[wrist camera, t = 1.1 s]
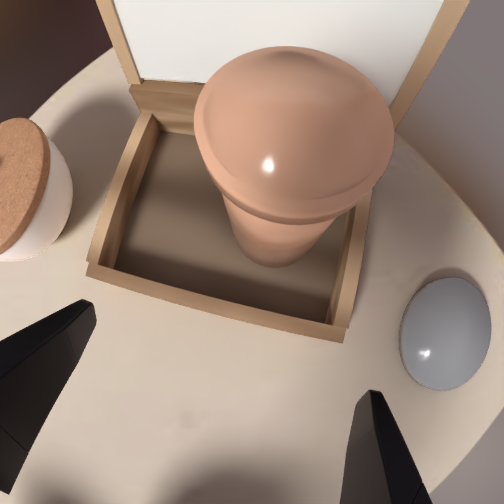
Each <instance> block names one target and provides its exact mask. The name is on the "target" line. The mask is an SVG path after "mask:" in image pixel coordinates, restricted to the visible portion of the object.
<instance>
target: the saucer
mask: <svg viewBox="0 0 504 504" xmlns="http://www.w3.org/2000/svg"><path fill="white" fill-rule="evenodd" d="M490 339H491V317H490V312H489V308H488V305H487V303H486V301H485V299H484V297H483V295H482V294H481V292H480V291H479V290H478V289H477V288H476V287H475V286H474V285H473V284H472V283H470V282H468V281H466V280H464V279H461V278H456V277H449V278H443V279H439V280H435V281H432V282H430V283H429V284H427V285H425V286H424V287H422V288H421V289H420V290H419V291H418V292H417V293H416V294H415V295H414V297H413V298H412V299H411V301H410V302H409V304H408V306H407V308H406V310H405V312H404V315H403V317H402V321H401V325H400V330H399V350H400V356H401V359H402V363H403V365H404V367H405V369H406V371H407V372H408V374H409V375H410V376H411V377H412V378H413V379H414V380H415V381H416V382H417V383H419V384H421V385H422V386H425V387H427V388H430V389H433V390H438V391H446V390H451V389H454V388H457V387H459V386H461V385H463V384H464V383H465V382H467V381H468V380H469V379H470V378H471V377H472V376H473V375H474V374H475V373H476V372H477V370H478V369H479V368H480V366H481V364H482V363H483V361H484V359H485V356H486V354H487V351H488V348H489V344H490Z"/></svg>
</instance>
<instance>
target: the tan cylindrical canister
mask: <svg viewBox="0 0 504 504" xmlns="http://www.w3.org/2000/svg"><path fill="white" fill-rule="evenodd" d="M194 131H195V136H196V140H197V143H198V146H199V149H200V152H201V155H202V158H203V161H204V164H205V167H206V169H207V172H208V174H209V176H210V178H211V179H212V181H213V183H214V184H215V185H216V187H217V188H218V189H219V191H220V192H221V193H222V196H223V199H224V203H225V206H226V210H227V213H228V217H229V220H230V224H231V227H232V230H233V234H234V237H235V240H236V243H237V245H238V247H239V248H240V250H241V251H242V252H243V254H244V255H245V256H246V257H248V258H249V259H250V260H251V261H253V262H255V263H257V264H259V265H262V266H265V267H270V268H280V267H285V266H289V265H292V264H294V263H296V262H298V261H299V260H300V259H302V258H303V257H304V256H305V255H306V254H307V253H308V251H309V250H310V249H311V248H312V247H313V245H314V244H315V243H316V242H317V241H318V239H319V238H320V237H321V236H322V234H323V233H324V232H325V231H326V230H327V228H328V227H329V226H330V225H331V223H332V222H333V221H334V220H335V219H336V217H338V216H340V215H342V214H343V213H345V212H347V211H348V210H350V209H351V208H353V207H354V206H355V205H356V204H357V203H358V202H359V201H360V200H361V199H362V198H363V197H364V196H365V195H366V194H367V193H368V192H369V191H370V189H371V188H372V187H373V186H374V185H375V184H376V183H377V181H378V180H379V179H380V178H381V176H382V175H383V173H384V172H385V170H386V168H387V166H388V164H389V162H390V160H391V156H392V153H393V148H394V126H393V121H392V117H391V114H390V111H389V108H388V106H387V104H386V102H385V100H384V98H383V97H382V95H381V94H380V92H379V91H378V89H377V88H376V87H375V86H374V85H373V84H372V82H371V81H370V80H369V79H368V78H367V77H366V76H365V75H363V74H362V73H361V72H360V71H358V70H357V69H356V68H355V67H353V66H351V65H350V64H348V63H347V62H345V61H343V60H341V59H339V58H337V57H335V56H333V55H330V54H327V53H325V52H322V51H318V50H314V49H310V48H304V47H296V46H275V47H267V48H262V49H258V50H254V51H251V52H248V53H245V54H243V55H241V56H238V57H236V58H234V59H233V60H231V61H229V62H228V63H226V64H225V65H223V66H222V67H221V68H220V69H218V70H217V71H216V72H215V73H214V74H213V75H212V76H211V77H210V79H209V80H208V81H207V83H206V84H205V85H204V87H203V89H202V91H201V93H200V95H199V97H198V100H197V103H196V106H195V112H194Z"/></svg>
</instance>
